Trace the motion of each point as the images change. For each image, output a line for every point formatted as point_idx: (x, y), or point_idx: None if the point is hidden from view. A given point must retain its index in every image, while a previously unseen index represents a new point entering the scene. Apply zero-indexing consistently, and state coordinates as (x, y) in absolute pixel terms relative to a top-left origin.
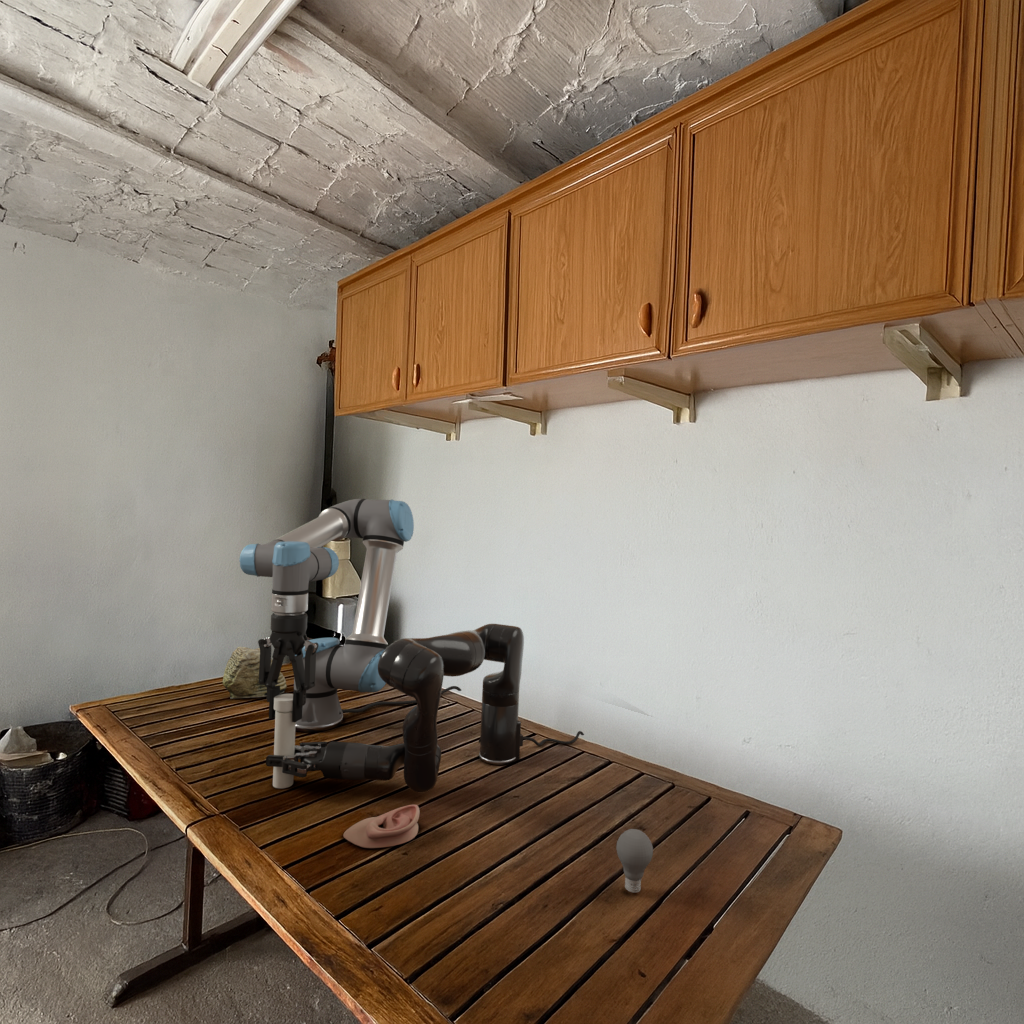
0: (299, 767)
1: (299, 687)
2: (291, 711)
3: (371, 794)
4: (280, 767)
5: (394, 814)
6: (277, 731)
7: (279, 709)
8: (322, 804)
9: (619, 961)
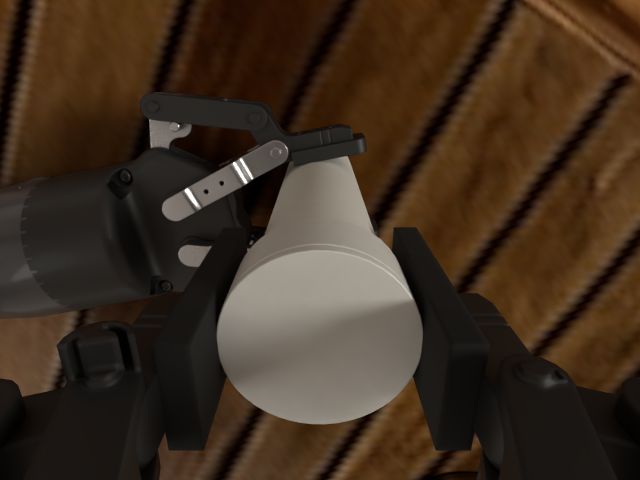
0: (171, 94)
1: (87, 393)
2: None
3: None
4: None
5: None
6: (333, 190)
7: (316, 222)
8: (117, 88)
9: None
